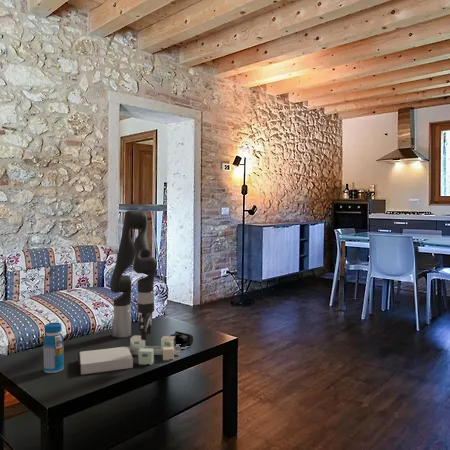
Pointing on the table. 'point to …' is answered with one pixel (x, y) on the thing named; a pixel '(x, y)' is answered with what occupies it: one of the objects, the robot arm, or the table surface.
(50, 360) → the beverage bottle
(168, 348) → the block
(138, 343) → the rail
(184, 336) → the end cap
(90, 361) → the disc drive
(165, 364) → the table surface
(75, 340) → the table surface
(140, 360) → the module
